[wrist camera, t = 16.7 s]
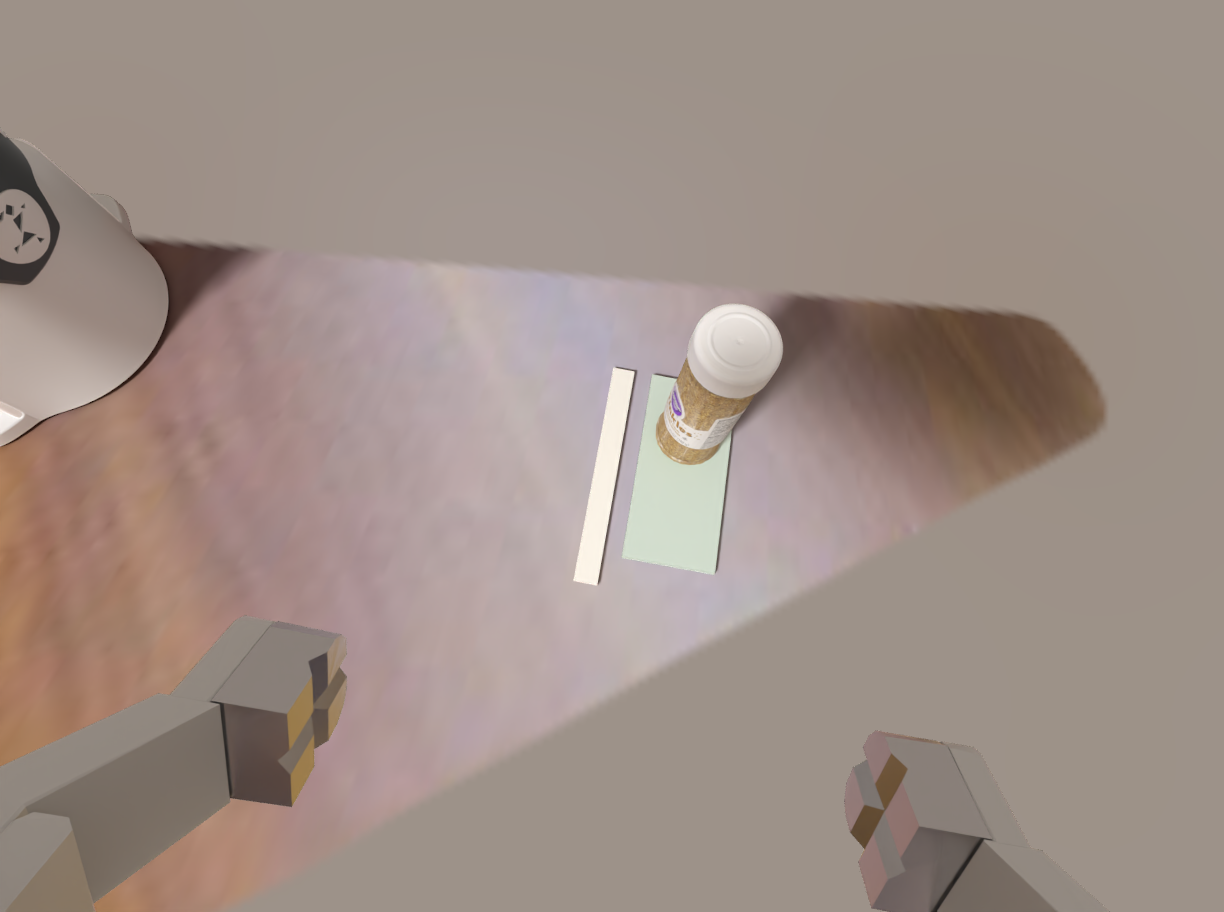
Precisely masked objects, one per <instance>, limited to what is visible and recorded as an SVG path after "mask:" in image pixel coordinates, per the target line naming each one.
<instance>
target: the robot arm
mask: <svg viewBox="0 0 1224 912" xmlns="http://www.w3.org/2000/svg"><path fill="white" fill-rule="evenodd" d="M168 302H169V300H168V289H167V284H166V280H165V277H164V275H163V272H162V270H161V268H160V267H159V265H158V263H157V262H156V260H155V259H154V258H153V256H152V255H151V254H150V253H149V252H148V251H147V250H146V249H145V248H144V247H143V246H142V245H141V244H140V243H139V242H138V241H137V240H136V239H135V237H134V236H133V234H132V230H131V226H130V222H129V219H128V216H127V213H126V211H125V209H124V208H123V207H122V206H121V205H120V204H118V202H117V201H115V200H114V199H113V198H112V197H110V196H108V195H103V194H89V193H88V192H87V191H86V190H85V189H83V188H82V187H81V186H80V185H79V184H78V183H77V182H76V181H75V180H73V179H72V178H71V177H70V176H69V175H68V174H67V173H65V172H64V171H63V170H62V169H61V168H60V167H59V166H57V165H56V164H55V163H54V162H53V161H52V160H50V159H49V158H48V157H47V156H46V155H45V154H44V153H42V152H41V151H40V150H39V149H38V148H37V147H35V146H34V145H33V144H31V143H30V142H28V141H26V140H24V139H21V138H17V139H12V138H8V137H7V135H6V133H5V132H4V131H2V129H1V128H0V446H3V445H5V444H7V443H9V442H11V441H13V440H14V439H16V438H17V437H19V436H20V435H22V434H23V433H25V432H26V431H27V430H29V429H30V428H32V427H33V426H34V425H36V424H37V423H38V422H40V421H41V420H43V419H45V418H48V417H50V416H53V415H55V414H58V413H61V412H65V411H68V410H71V409H74V408H77V407H79V406H82V405H85V404H87V403H89V402H91V401H94V400H96V399H97V398H99V397H101V396H103V395H105V394H107V393H108V392H110V391H111V390H113V389H114V388H116V387H117V386H119V385H120V384H121V383H123V382H124V381H125V380H126V379H128V378H129V377H130V376H131V375H132V374H133V373H134V372H135V371H136V370H137V369H138V368H139V367H140V366H141V365H142V364H143V363H144V361H145V360H146V359H147V358H148V356H149V355H150V353H151V352H152V350H153V349H154V347H155V346H156V344H157V342H158V340H159V338H160V336H161V334H162V331H163V329H164V326H165V322H166V318H167V313H168ZM346 655H347V644H346V637H345V636H343V635H342V634H337V633H332V632H327V631H323V630H318V629H313V628H308V627H303V626H298V625H293V624H289V623H284V622H279V621H278V622H275V621H270V620H266V619H261V618H256V617H251V616H247V615H245V616H243V617H241V618H239V619H237V620H235V621H234V622H233V623H232V624H231V625H230V626H229V628H228V629H227V630H226V631H225V632H224V633H223V634H222V636H221V637H220V638H219V639H218V640H217V641H216V642H215V644H214V645H213V646H212V647H211V648H210V649H209V650H208V651H207V653H206V654H205V655H204V656H203V657H202V658H201V659H200V661H199V662H198V663H197V664H196V665H195V666H194V667H193V669H192V670H191V671H190V672H189V673H188V674H187V675H186V676H185V678H184V679H183V680H182V681H181V682H180V683H179V684H178V686H177V687H176V688H175V689H174V690H173V691H172V692H171V694H170V695H167V694H160V693H158V694H156V695H154V696H152V697H150V698H147V699H145V700H143V701H141V702H139V703H137V704H134V705H132V706H130V707H128V708H126V709H124V710H122V711H119V712H117V713H115V714H113V715H111V716H109V717H106V718H104V719H102V720H100V721H98V722H96V723H93V724H91V725H89V726H87V727H85V728H83V729H81V730H78V731H76V732H74V733H72V734H70V735H68V736H65V737H63V738H61V739H59V740H57V741H55V742H52V743H50V744H48V745H46V746H44V747H42V748H39V749H37V750H35V751H33V752H31V753H29V754H27V755H24V756H22V757H20V758H18V759H16V760H14V761H11V762H9V763H7V764H5V765H3V766H1V767H0V912H96V911H95V907H94V903H95V902H96V901H98V900H99V899H100V898H102V897H103V896H104V895H106V894H107V893H108V892H110V891H111V890H112V889H114V888H115V887H116V886H118V885H119V884H121V883H122V882H123V881H125V880H126V879H127V878H129V877H130V876H131V875H133V874H134V873H135V872H137V871H138V870H139V869H141V868H142V867H143V866H145V865H146V864H147V863H149V862H150V861H151V860H153V859H154V858H156V857H157V856H158V855H160V854H161V853H162V852H164V851H165V850H166V849H168V848H169V847H170V846H172V845H173V844H174V843H176V842H177V841H178V840H180V839H181V838H182V837H184V836H185V835H187V834H188V833H189V832H191V831H192V830H193V829H195V828H196V827H197V826H199V825H200V824H201V823H203V822H204V821H205V820H207V819H208V818H209V817H211V816H212V815H213V814H215V813H216V812H217V811H219V810H220V809H222V808H223V807H224V806H226V805H227V804H228V803H230V798H233V799H239V800H246V801H253V802H260V803H267V804H274V805H281V806H288V807H292V806H293V804H294V802H295V801H296V799H297V797H298V795H299V793H300V792H301V790H302V788H303V786H304V784H305V783H306V781H307V779H308V777H309V775H310V773H311V772H312V770H313V768H314V749H316V748H317V747H319V746H320V745H322V744H324V743H325V742H327V741H328V740H329V739H330V737H331V735H332V733H333V731H334V729H335V727H336V725H337V723H338V720H339V717H340V714H341V711H342V708H343V706H344V701H345V695H346V690H347V676H346V675H345V674H344V672H343V671H342V670H341V669H340V665H341V664H342V662H343V660H344V659H345V657H346ZM863 749H864V752H865V755H866V758H867V760H865V761H864V762H862V763H860V764H858V765H857V766H855V767H853V769H852V771H851V774H850V776H849V778H848V780H847V783H846V791H845V801H844V802H845V812H846V819H847V823H848V826H849V830H850V833H851V834H852V835H853V837H854V838H855V839H856V840H857V841H858V842H859V843H860V845H861V846H862V847H863V848H864V851H863V853H862V855H861V858H860V859H859V862H858V863H859V866H860V870H861V873H862V877H863V880H864V884H865V887H866V891H867V894H868V898H869V901H870V905H871V908H872V909H877V910H882V911H887V912H1110V911H1109V910H1107V909H1106V908H1105V907H1104V906H1103V905H1102V904H1101V903H1100V902H1099V901H1098V900H1096V899H1095V898H1094V897H1093V896H1092V895H1091V894H1090V893H1089V892H1088V891H1086V890H1085V889H1084V888H1083V887H1082V886H1081V885H1080V884H1079V883H1078V882H1077V881H1075V880H1074V879H1073V878H1072V877H1071V876H1070V875H1069V874H1068V873H1067V872H1065V871H1064V870H1063V869H1062V868H1061V867H1060V866H1059V865H1058V864H1056V863H1055V862H1054V861H1053V860H1052V859H1051V858H1050V857H1049V856H1048V855H1046V854H1045V853H1044V852H1043V851H1042V850H1039V849H1034V848H1031V847H1030V845H1029V843H1028V841H1027V839H1026V837H1025V835H1024V833H1023V832H1022V830H1021V828H1020V826H1019V824H1018V822H1017V820H1016V818H1015V816H1014V814H1013V813H1012V811H1011V809H1010V807H1009V805H1008V803H1007V801H1006V800H1005V798H1004V796H1003V794H1002V792H1001V790H1000V788H999V787H998V784H997V783H996V781H995V779H994V777H993V775H992V773H991V771H990V769H989V768H988V766H987V764H986V762H985V760H984V758H983V756H982V755H981V753H980V752H979V751H978V750H976V749H975V748H974V747H971V746H965V745H959V744H953V743H947V742H938V741H935V740H928V739H923V738H917V737H911V736H905V735H900V734H894V733H888V732H882V731H875V732H873V733H872V734H871V735H869V736H868V738H867V741H866V742H865V744H864V746H863Z"/></svg>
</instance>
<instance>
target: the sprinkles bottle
mask: <svg viewBox="0 0 1224 912" xmlns="http://www.w3.org/2000/svg"><path fill="white" fill-rule="evenodd" d="M782 355H783V343H782V338H781V335H780V332H779V330H778V328H777V327H776V325H775V324H774V323H773V321H772V320H771V319H770V318H769V317H768V316H767V315H765V314H764V313H763V312H761V311H760V310H758V309H756V308H753V307H751V306H748V305H743V304H725V305H721V306H718V307H715V308H714V309H712V310H710V311H709V312H707V313H706V314H705V315H704V316H703V317H702V318H701V319H700V321H699V322H698V324H697V326H696V328H695V330H694V332H693V334H692V336H691V339H690V341H689V345H688V350H687V358H686V360H685V363H684V365H683V368H682V370H681V372H680V374H679V377H678V378H677V380H676V382H675V383H674V386H673V388H672V390H671V393H670V395H669V397H668V400H667V402H666V405H665V409H664V412H663V413H662V414H661V415H660V417H659V419H658V421H657V424H656V440H657V444H658V446H659V447H660V449H661V451H662V452H663V453H664V454H665V455H666V456H667V457H669V458H670V459H671V460H673V461H674V462H677V463H680V464H686V465H696V464H702V463H704V462H705V461H707V460H709V459H710V458H711V457H713V456H714V455H715V453H716V452H717V450H718V448H719V445H720V443H721V442H722V441H723V440H724V439H725V438H726V436H727V435H728V434H729V432H730V431H731V429H732V428H733V427H734V425H735V424H736V422H737V421H738V419H739V418H740V417H741V415H742V414H743V412H744V411H745V410H746V408H747V407H748V405H749V404H750V402H751V400H752V398H753V397H754V395H755V394H756V393H757V392H758V391H760V390H761V389H762V388H764V387H765V386H766V384H767V383H768V382H769V380H770V379H771V378H772V376H773V375H774V373H775V372H776V370H777V368H778V367H779V365H780V362H781V359H782Z"/></svg>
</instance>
